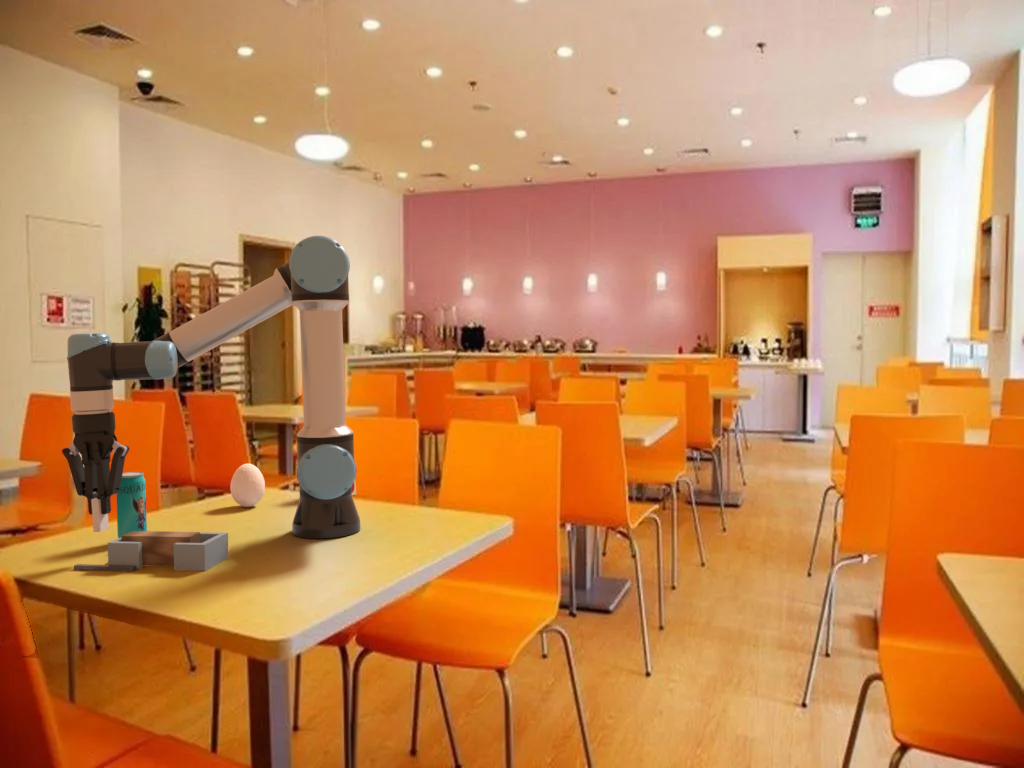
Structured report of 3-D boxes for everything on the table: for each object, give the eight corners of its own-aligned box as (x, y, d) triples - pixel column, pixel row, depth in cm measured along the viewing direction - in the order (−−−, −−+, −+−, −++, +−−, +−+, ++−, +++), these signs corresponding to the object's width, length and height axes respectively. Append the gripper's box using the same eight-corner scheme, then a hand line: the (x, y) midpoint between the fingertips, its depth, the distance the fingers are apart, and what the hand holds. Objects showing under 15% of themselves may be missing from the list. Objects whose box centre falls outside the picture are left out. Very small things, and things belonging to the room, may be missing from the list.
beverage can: (135, 546, 172) (133, 476, 171) (112, 544, 173) (109, 475, 172) (152, 539, 177) (150, 471, 176) (129, 538, 178) (127, 471, 178)
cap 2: (228, 557, 162) (227, 532, 162) (205, 570, 152) (204, 544, 152) (199, 556, 163) (198, 532, 162) (174, 570, 153) (173, 544, 153)
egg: (238, 503, 216) (237, 461, 216) (270, 503, 216) (269, 461, 215) (225, 510, 208) (224, 466, 207) (258, 510, 207) (257, 466, 207)
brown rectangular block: (200, 561, 159) (200, 532, 159) (190, 567, 156) (189, 536, 155) (134, 560, 161) (133, 531, 161) (122, 566, 157) (121, 535, 157)
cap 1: (165, 555, 163) (165, 531, 163) (139, 569, 154) (138, 543, 154) (137, 555, 164) (136, 531, 164) (108, 568, 155) (107, 542, 154)
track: (167, 554, 165) (167, 550, 165) (133, 571, 153) (133, 567, 153) (112, 553, 166) (112, 549, 166) (74, 569, 154) (73, 565, 154)
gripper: (135, 409, 161) (142, 525, 163) (74, 410, 163) (82, 526, 164) (112, 413, 154) (120, 534, 155) (49, 414, 155) (58, 535, 157)
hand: (101, 530), depth 160 cm, fingers closed
